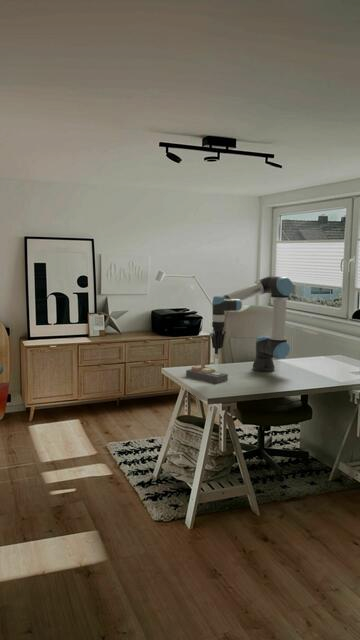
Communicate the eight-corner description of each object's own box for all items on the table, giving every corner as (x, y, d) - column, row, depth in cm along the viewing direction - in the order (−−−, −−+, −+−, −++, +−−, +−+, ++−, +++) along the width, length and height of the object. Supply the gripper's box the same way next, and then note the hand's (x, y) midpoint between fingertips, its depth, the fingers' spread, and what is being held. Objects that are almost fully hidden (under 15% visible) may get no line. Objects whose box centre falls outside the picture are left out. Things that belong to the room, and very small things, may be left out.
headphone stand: (201, 373, 349) (202, 340, 346) (194, 369, 359) (195, 337, 356) (215, 372, 353) (216, 339, 350) (208, 368, 363) (209, 337, 360)
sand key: (206, 372, 338) (206, 367, 338) (212, 373, 335) (212, 369, 335) (201, 373, 335) (201, 369, 334) (207, 375, 331) (207, 370, 331)
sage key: (215, 376, 333) (216, 372, 333) (222, 378, 330) (222, 373, 330) (211, 378, 330) (211, 373, 329) (217, 379, 326) (217, 374, 326)
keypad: (186, 376, 339) (186, 370, 339) (197, 373, 347) (197, 367, 347) (216, 383, 323) (217, 377, 322) (227, 380, 331) (227, 374, 330)
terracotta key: (196, 370, 344) (196, 365, 343) (202, 371, 340) (202, 367, 340) (191, 371, 340) (191, 367, 339) (197, 372, 337) (197, 368, 336)
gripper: (219, 319, 332) (218, 356, 335) (206, 321, 323) (206, 359, 326) (229, 320, 327) (228, 358, 331) (216, 322, 318) (215, 361, 321)
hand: (217, 358), depth 328 cm, fingers closed
